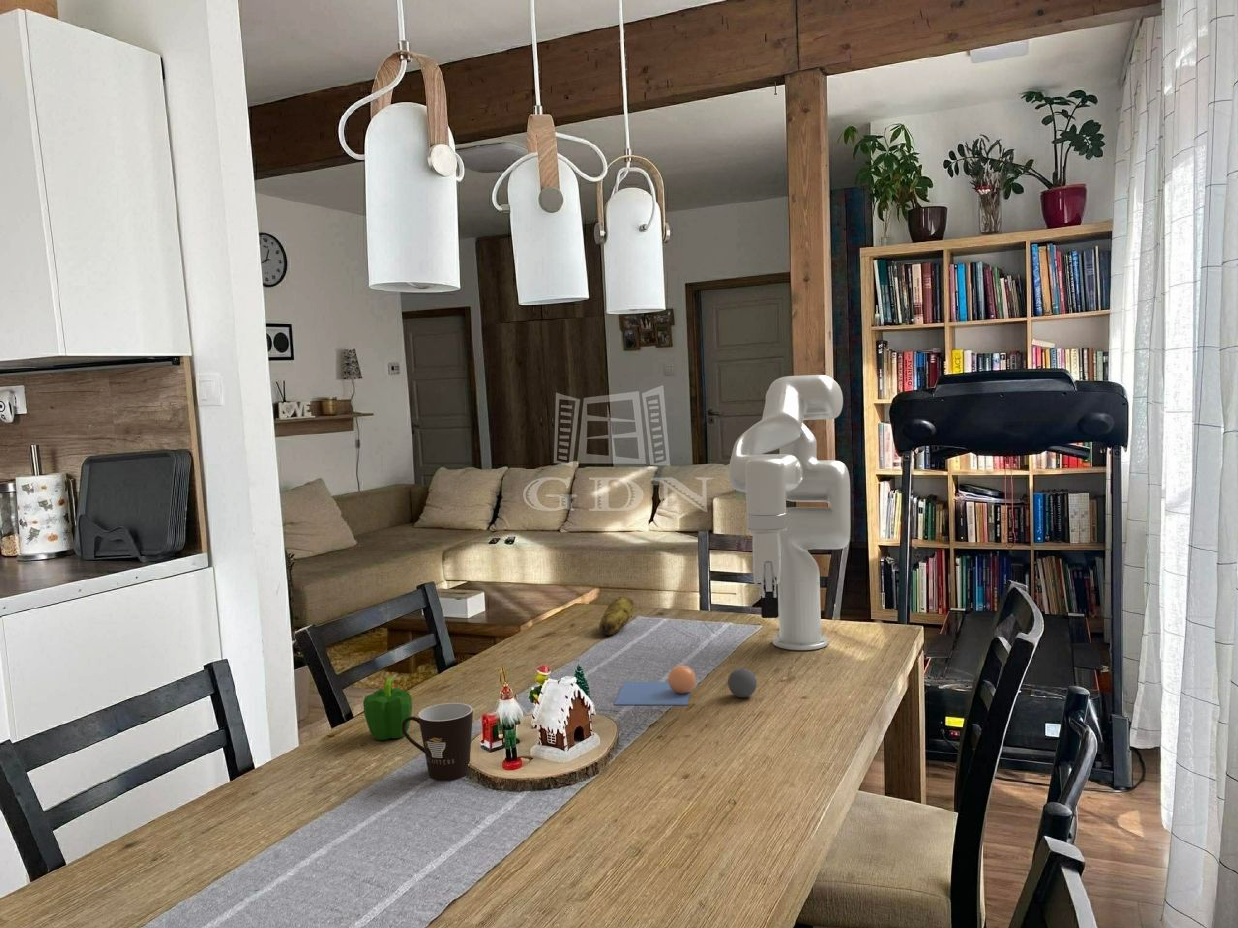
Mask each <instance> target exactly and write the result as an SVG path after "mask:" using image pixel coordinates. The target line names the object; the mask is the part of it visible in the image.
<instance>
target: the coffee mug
mask: <svg viewBox="0 0 1238 928" xmlns="http://www.w3.org/2000/svg"><path fill="white" fill-rule="evenodd" d="M417 716H418V717H416V716H411V717H408V718H407V719H405V720H404V721H403V723H402V732H403V734H404V737H405V738H406V740H408V741H409V742H410V744H412V745H413V746H414V747H415V748H417V749H418V750H419V751H421V752H422V753H424V756H425V760H426V761H425V762H426V766H427V767H426V768H427V771H428V777H429V778H430V780H431V779H432V780H433V781H437V782H448V781H456V780H459V779H461V778H464V777H466V776H467V775H468V774H467V770H468V764H469V762H470V763H471V748H472V747H471V746H472V736H473V735H472V733H473V732H472V731H473V716H474V708H473V707H472V706H471V705H469V704H466V703H463V702H462V703H461V702H460V703H459V702H447V703H439V704H434V705H431V706H428V707H425V708H423V709H421V710H420V711H419V712H418V714H417ZM408 721H410V722H411V721H413V722H416V723H418V725H419V728H420V734H421V738H422V740H421V741H422V745H423V746H422V745H421V744H419V743H418V742H417V741H415V739H413V738H412V737H411V736H410V735H409V734H408V731H407V732H406V728H405V727H406V723H407V722H408Z"/></svg>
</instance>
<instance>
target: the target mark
mask: <svg viewBox="0 0 1238 928" xmlns="http://www.w3.org/2000/svg"><path fill="white" fill-rule="evenodd" d="M690 696H691V691H690V692H688V693H686V694H678V693H676V692H674V691H673V690H672V689H671V688H670V686H669V684H668V681H624V682H623V684H622V685H621V688H620V691H619V693H618V695H617V697H616V700H615V702H614V706H688V705H689V700H690Z"/></svg>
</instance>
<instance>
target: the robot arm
mask: <svg viewBox="0 0 1238 928" xmlns="http://www.w3.org/2000/svg"><path fill="white" fill-rule="evenodd" d="M843 406H844V396H843V391H842V389H841V386H840V384H838V382H837V381H836V380H834V378H833V377H831V376H828V375H825V374H810V375H809V374H807V375H806V374H805V375H790V376H789V375H788V376H787V375H786V376H781V377H779V378H777V379H775V380H774V381H772V383H770V386H769V387H768V390H767V391H766V394H765V404H764V409H763V413H762V418H761V419H760V421H757V423H755V424H753V425H752V426H751V427H749V428H748V429H747V430H745V431H744V432H743V433H742V434H741V435H740V436H739V437H738V438H737V440H736V441H735V443H734V446H733V448H732V453H731V457H730V461H729V465H728V480H729V483H730V485H731V487H732V489H734V490H735V491H737V492H740V493H745V501H746V503H745V504H746V505H745V506H746V509H745V510H746V530H747V532H749V533H752V565H753V568H752V569H753V583H754V584H755V585H758V583H761V596H760V612H761V619H778V629H779V630H778V631H779V634H777V635H775V636H773V638H772V645H774V646H776V647H778V648H779V649H780V648H781V649H783V650H790V651H812V650H819V649H823V648H824V647H827V646H828V645H829V637H828V636H826V635H824V634H822V619H821V618H822V617H821V616H822V615H821V614H822V613H821V612H822V611H821V585H820V584H821V583H820V582H821V580H820V579H821V577H820V568H819V565H818V562H817V561H816V559H815V557H813V556H812V554H811V553H810V552H809V551H808V550H842V549H844V548H846V547H847V546H848V545H849V543H850V539H851V478H850V473H849V472H850V471H849V470H848V466H846V464H845V463H843V462H842V461H840V460H836V459H831V460H830V459H827V460H824V459H821V460H818V459H817V456H818V455H817V452H818V451H817V445H818V442H817V438H816V436H815V435H814V434H813V433H812V431H811V430H810V429H809V428H808V426H807V425H805V423H803V422H804V421H816V420H834V419H837V418H838V417H839V416H840V415H841V413H842V410H843ZM776 450H779V453H777V454H776V453H775V454H772V453H771V454H767V453H770V452H773V451H776ZM787 501H789V502H793V503H794V502H797V503H799V502H800V503H802V502H803V503H827V504H828V505H829V507H827V506H824V507H823V506H822V507H820V506H819V507H818V506H816V507H815V506H791V507H787Z"/></svg>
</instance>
